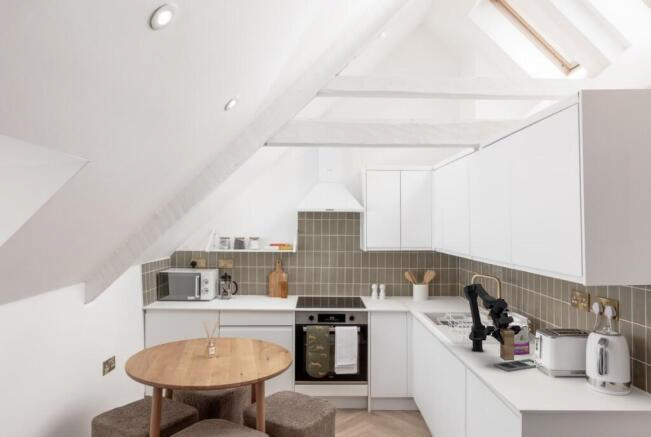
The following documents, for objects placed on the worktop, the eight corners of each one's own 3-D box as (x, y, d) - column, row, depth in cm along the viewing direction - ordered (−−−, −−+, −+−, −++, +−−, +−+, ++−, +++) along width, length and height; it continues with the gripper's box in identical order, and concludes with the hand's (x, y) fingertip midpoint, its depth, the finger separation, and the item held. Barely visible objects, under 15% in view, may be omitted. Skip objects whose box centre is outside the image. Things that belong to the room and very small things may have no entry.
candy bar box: (523, 351, 253) (523, 323, 253) (529, 353, 248) (529, 325, 248) (507, 352, 250) (507, 325, 250) (513, 355, 245) (513, 326, 245)
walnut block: (500, 357, 224) (500, 329, 224) (509, 357, 225) (509, 329, 225) (505, 360, 219) (505, 331, 219) (514, 360, 220) (514, 331, 220)
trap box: (507, 372, 216) (507, 369, 216) (493, 366, 225) (493, 363, 225) (544, 367, 225) (544, 364, 225) (529, 361, 234) (529, 358, 234)
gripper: (486, 310, 225) (497, 337, 214) (519, 310, 228) (531, 336, 216) (479, 322, 233) (489, 348, 222) (511, 321, 235) (522, 347, 224)
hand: (508, 344), depth 221 cm, fingers closed on walnut block, 5 cm apart
